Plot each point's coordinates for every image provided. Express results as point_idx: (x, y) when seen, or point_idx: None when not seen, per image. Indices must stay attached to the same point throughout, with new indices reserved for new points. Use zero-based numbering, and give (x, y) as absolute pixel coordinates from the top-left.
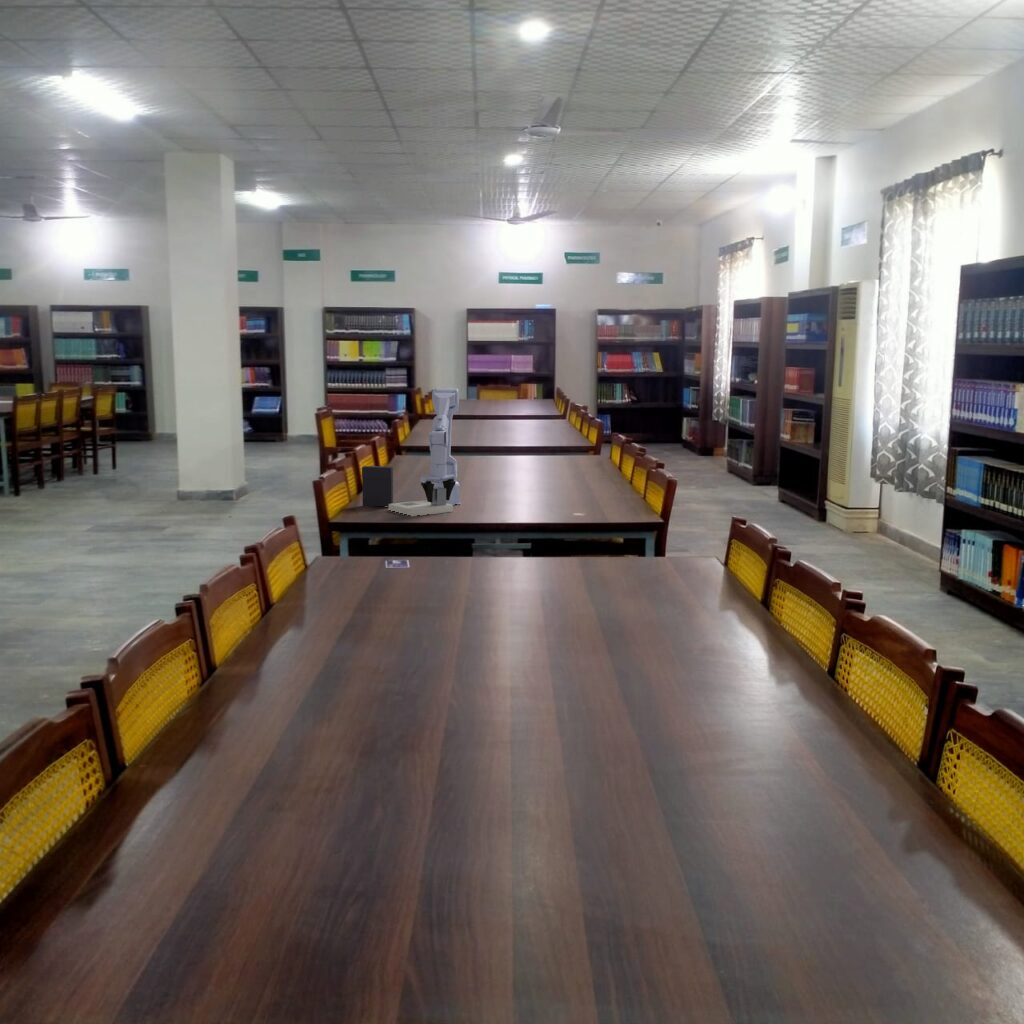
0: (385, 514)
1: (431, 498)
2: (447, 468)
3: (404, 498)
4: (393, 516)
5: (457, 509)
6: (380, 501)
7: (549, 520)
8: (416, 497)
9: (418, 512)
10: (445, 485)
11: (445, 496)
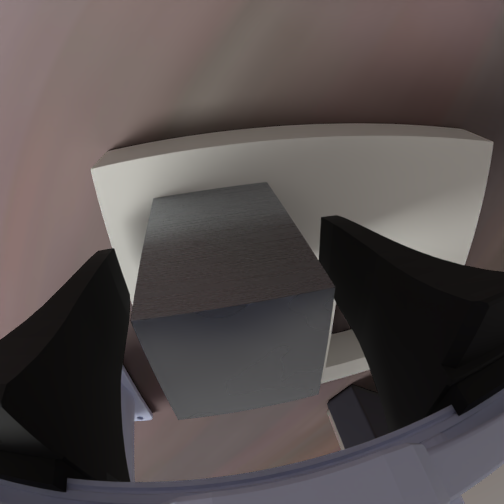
0: (481, 249)
1: (352, 226)
2: None
3: (197, 474)
4: (498, 187)
5: (42, 237)
6: (381, 408)
7: None
8: (154, 476)
9: (440, 131)
10: (104, 423)
11: (155, 240)
